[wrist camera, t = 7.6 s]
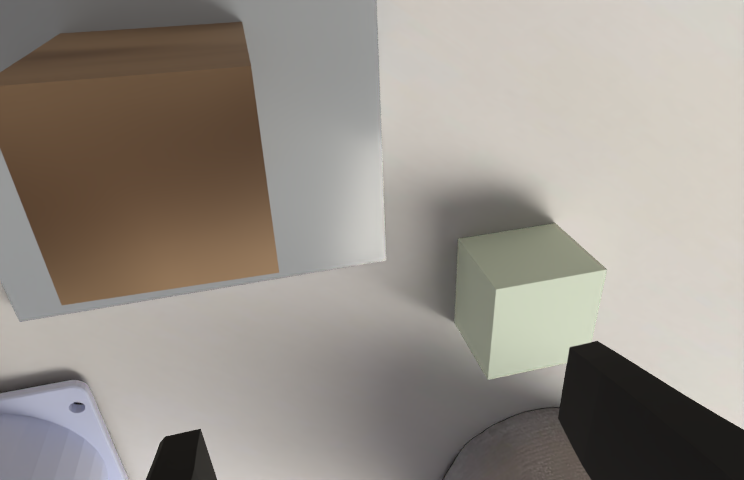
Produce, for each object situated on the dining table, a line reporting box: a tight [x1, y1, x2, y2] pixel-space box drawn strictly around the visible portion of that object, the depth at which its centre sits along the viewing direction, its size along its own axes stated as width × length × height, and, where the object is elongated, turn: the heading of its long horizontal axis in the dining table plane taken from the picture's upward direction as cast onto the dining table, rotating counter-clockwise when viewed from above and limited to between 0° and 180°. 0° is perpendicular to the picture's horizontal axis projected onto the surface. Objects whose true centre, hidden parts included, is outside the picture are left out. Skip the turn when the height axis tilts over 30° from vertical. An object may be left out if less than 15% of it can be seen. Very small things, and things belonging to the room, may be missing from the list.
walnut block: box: [0, 22, 279, 305], centre depth 13 cm, size 4×4×6 cm
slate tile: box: [0, 0, 386, 322], centre depth 16 cm, size 12×12×1 cm
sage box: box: [454, 223, 607, 380], centre depth 20 cm, size 4×4×4 cm
